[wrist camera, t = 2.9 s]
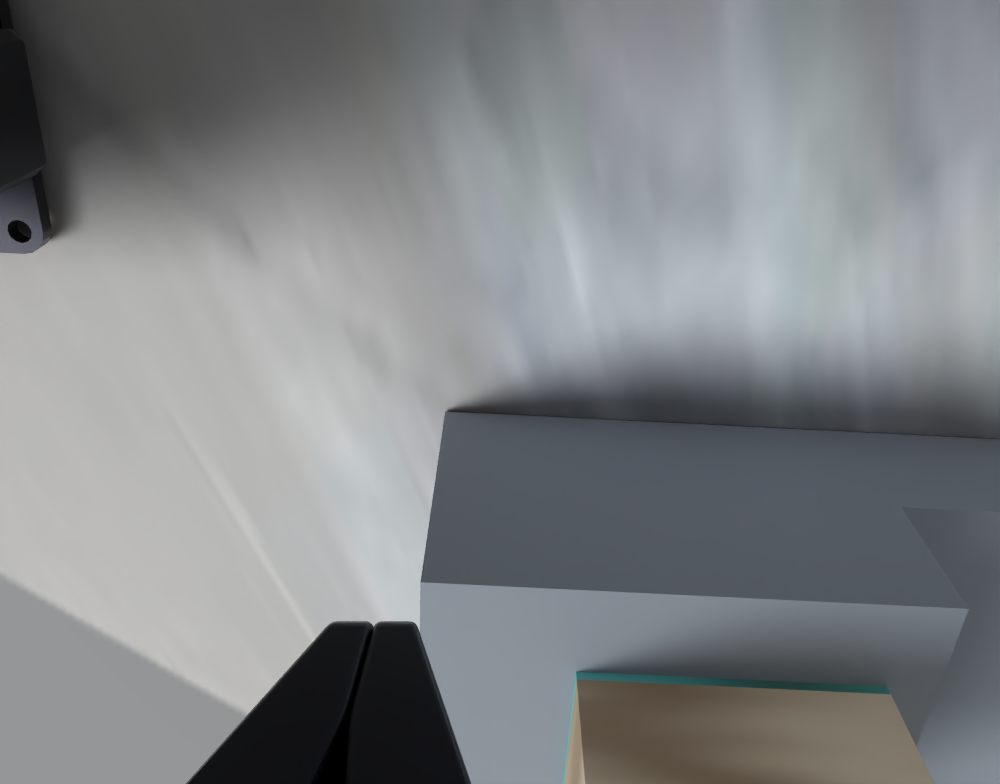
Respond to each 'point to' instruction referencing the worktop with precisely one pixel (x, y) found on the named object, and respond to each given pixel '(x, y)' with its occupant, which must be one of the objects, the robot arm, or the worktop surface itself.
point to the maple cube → (735, 733)
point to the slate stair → (709, 575)
